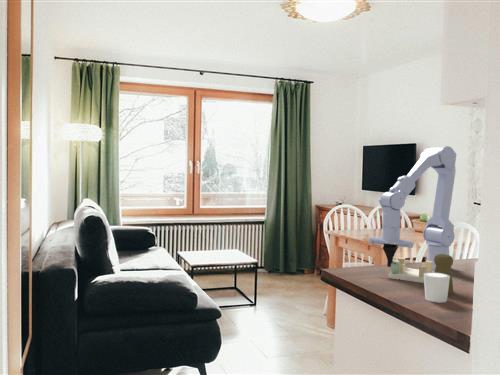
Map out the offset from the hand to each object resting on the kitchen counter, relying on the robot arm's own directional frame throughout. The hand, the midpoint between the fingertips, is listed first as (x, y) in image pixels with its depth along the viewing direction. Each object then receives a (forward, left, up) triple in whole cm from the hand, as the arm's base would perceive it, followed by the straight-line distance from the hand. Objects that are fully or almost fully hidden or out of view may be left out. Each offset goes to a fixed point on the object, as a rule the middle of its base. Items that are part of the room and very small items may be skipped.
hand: (390, 266), depth 156 cm
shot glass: (+23, +19, -3) cm, 30 cm away
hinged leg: (+1, +2, -1) cm, 3 cm away
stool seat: (0, +7, -3) cm, 8 cm away
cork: (+13, +19, -3) cm, 23 cm away
